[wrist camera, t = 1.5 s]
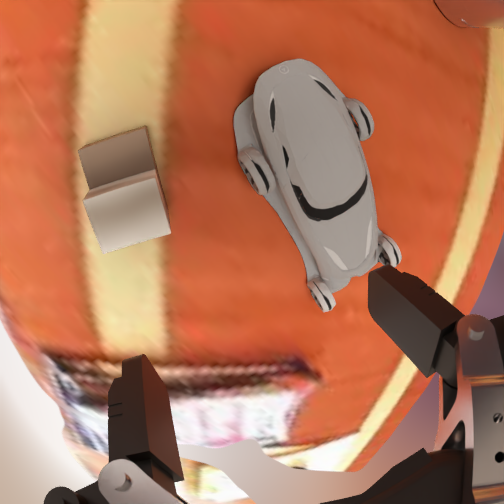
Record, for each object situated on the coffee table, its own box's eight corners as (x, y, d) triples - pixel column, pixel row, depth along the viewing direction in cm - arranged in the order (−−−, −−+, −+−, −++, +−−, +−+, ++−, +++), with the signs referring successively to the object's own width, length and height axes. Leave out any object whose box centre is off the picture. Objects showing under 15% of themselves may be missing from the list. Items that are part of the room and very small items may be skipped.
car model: (311, 305, 35) (331, 334, 31) (202, 97, 22) (213, 96, 18) (389, 254, 35) (416, 276, 31) (320, 44, 22) (353, 38, 18)
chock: (168, 208, 25) (171, 233, 21) (111, 225, 24) (103, 253, 20) (146, 125, 21) (143, 132, 17) (85, 145, 21) (68, 157, 16)
